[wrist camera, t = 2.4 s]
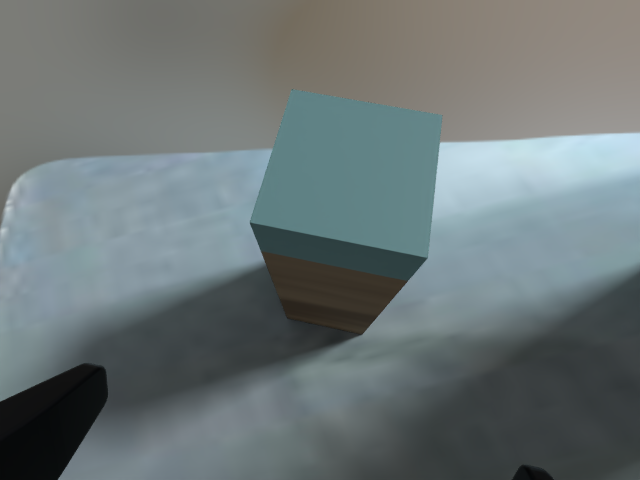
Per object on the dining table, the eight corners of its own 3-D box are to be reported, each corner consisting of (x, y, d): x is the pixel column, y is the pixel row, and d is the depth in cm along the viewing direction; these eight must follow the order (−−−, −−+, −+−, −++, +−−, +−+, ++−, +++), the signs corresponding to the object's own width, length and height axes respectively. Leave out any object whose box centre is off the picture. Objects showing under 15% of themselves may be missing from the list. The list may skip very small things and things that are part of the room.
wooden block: (362, 334, 21) (427, 258, 9) (287, 318, 21) (249, 222, 9) (373, 262, 22) (442, 115, 10) (304, 248, 23) (291, 89, 11)
